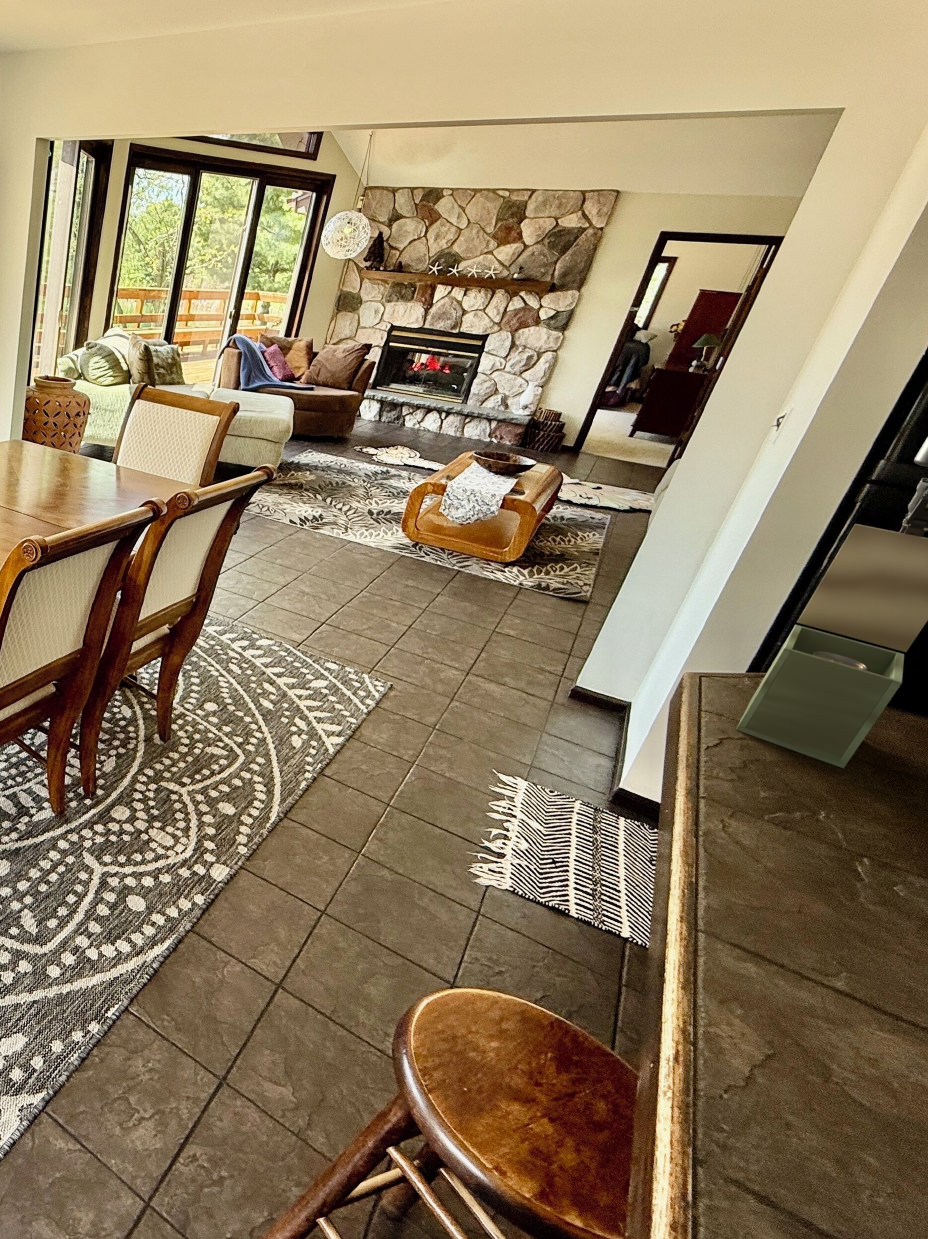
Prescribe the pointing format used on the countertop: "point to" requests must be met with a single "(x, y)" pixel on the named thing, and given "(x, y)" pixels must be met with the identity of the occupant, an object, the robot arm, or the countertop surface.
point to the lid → (874, 589)
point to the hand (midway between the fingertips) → (899, 552)
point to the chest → (822, 695)
